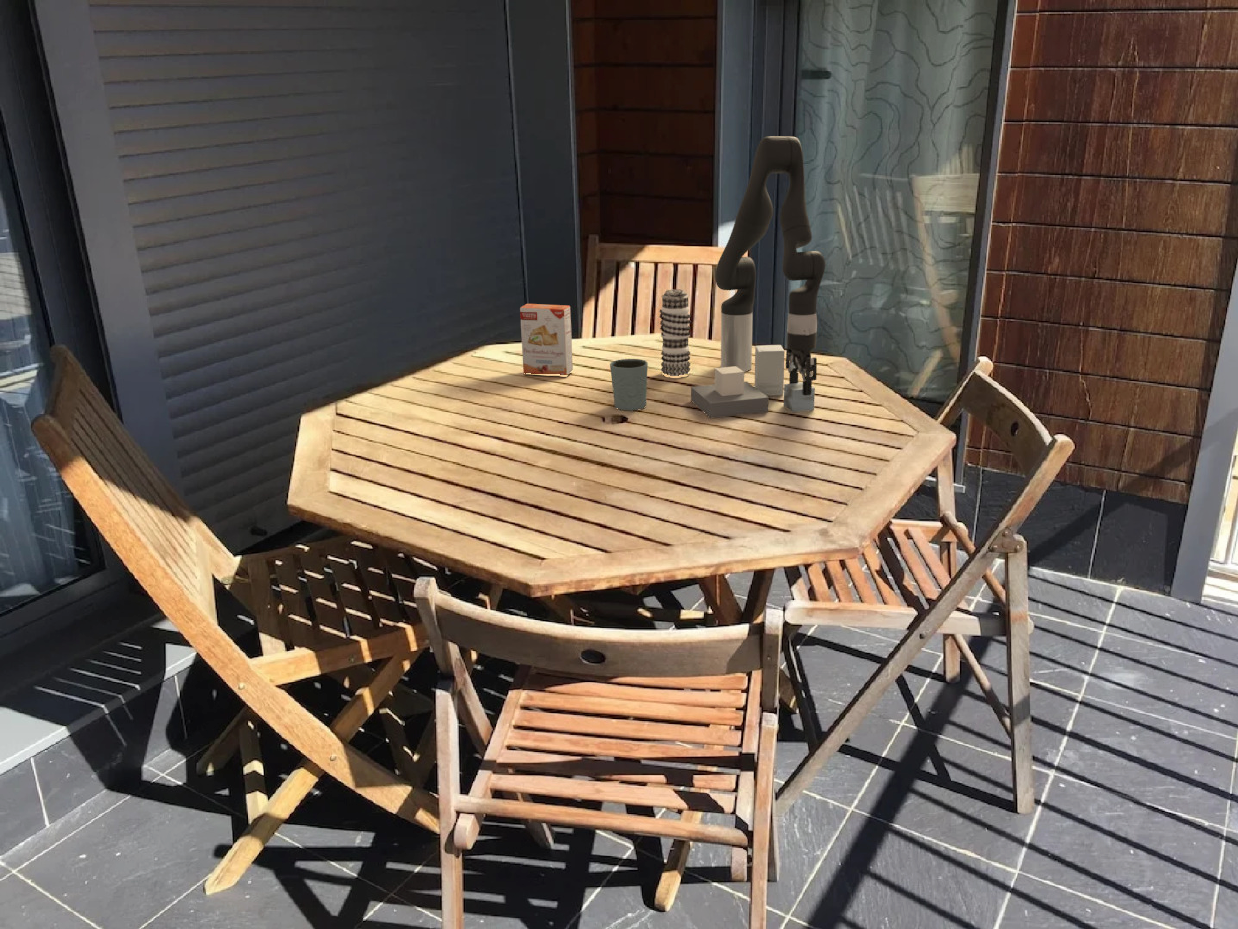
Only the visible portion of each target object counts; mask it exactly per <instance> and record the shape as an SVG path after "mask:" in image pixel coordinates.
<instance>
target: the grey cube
mask: <svg viewBox="0 0 1238 929" xmlns="http://www.w3.org/2000/svg"><path fill="white" fill-rule="evenodd" d="M802 391H803V381H802V382H798V383H792V384H789V383H784V387H783V406H784V407H785V408H786V409H788V410H789V411H790V412H792V413H797V412H806V411H814V410H815V398H816V397H815V394H816V393H815V391H816V388H815V387H813V386H812V390H811V395H806V396H805V395H803V394H802Z"/></svg>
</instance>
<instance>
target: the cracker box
mask: <svg viewBox="0 0 1238 929" xmlns="http://www.w3.org/2000/svg"><path fill="white" fill-rule="evenodd" d="M519 310H520V311H519V312H520V313H519V316H520V332H521V333H520V335H521V352H522V354H521V355H522V368H523V374H524V373H525V374H526V373H531V374H560V375H567V374H569V373H570V372H571V371H572V370H573V369H574V368H573V366H574V365H573V344H572V342H573V341H572V321H571V320H572V319H571V318H572V317H571V316H572V315H571V306H570V305H566V304H565V305H562V304H561V305H560V304H543V303H542V304H540V303H539V304H537V303H526V304H524V305H522V306H520V308H519Z"/></svg>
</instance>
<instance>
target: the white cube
mask: <svg viewBox="0 0 1238 929" xmlns="http://www.w3.org/2000/svg"><path fill="white" fill-rule="evenodd" d="M744 382H745V372H744V371H742V370H741V369H739V368H738V367H736V366H733V367H723V368H721V367H714V385H715V391H717V392H718V393H719V394H720V395H722V396H728V395H738V394H744Z"/></svg>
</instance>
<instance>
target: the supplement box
mask: <svg viewBox="0 0 1238 929" xmlns="http://www.w3.org/2000/svg"><path fill="white" fill-rule="evenodd" d="M754 348H755V352H754V387H755V388H756V389H758V390H759V391H761V392H762V393H763V394H765V395H766V396H767V397H769V396H770V397H771V396H773V397H774V396H784V384H785V382H784V380H785V379H784V378H785V352H786V351H785V349H784V348H783V346H782V344H770V345H769V344H766V345H762V344H761V345H755V347H754Z"/></svg>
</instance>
